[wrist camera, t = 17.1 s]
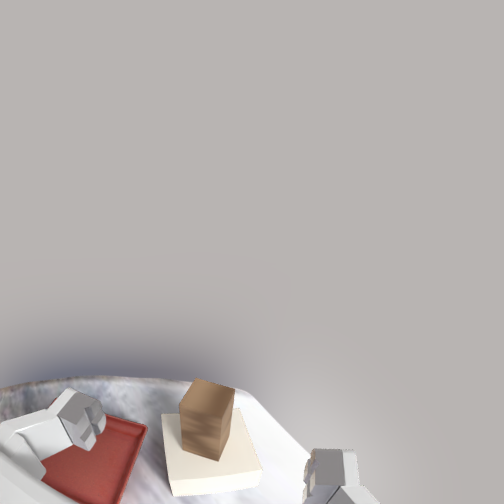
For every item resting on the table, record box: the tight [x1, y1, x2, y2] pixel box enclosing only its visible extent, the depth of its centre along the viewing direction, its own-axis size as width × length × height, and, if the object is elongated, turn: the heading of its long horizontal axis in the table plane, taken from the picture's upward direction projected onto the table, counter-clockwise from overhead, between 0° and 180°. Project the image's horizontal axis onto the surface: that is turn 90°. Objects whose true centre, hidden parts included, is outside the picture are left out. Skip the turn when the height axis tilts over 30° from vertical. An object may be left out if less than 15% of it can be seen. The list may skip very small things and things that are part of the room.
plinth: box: [161, 408, 263, 496], centre depth 35 cm, size 12×12×6 cm
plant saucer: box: [40, 398, 148, 504], centre depth 30 cm, size 18×18×3 cm
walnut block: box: [179, 378, 235, 462], centre depth 33 cm, size 5×5×10 cm
